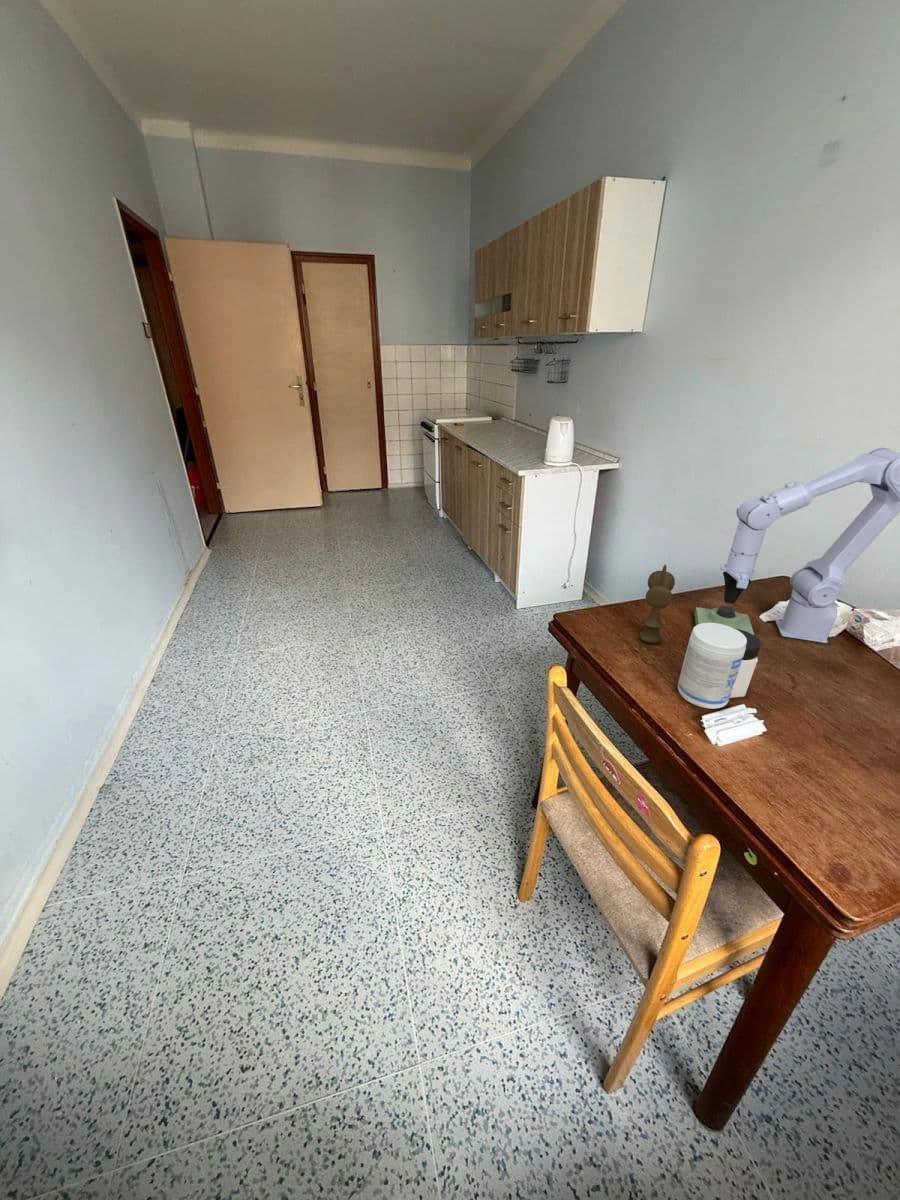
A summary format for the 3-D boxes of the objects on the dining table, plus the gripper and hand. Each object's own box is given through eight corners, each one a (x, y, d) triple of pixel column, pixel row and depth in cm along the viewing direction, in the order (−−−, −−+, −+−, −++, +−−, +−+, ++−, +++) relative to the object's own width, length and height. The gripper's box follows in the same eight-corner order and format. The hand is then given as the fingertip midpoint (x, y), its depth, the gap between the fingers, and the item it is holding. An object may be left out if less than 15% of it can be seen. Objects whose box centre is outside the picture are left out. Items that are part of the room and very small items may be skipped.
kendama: (663, 632, 118) (680, 558, 109) (661, 652, 110) (679, 575, 101) (638, 627, 120) (652, 554, 111) (634, 646, 113) (649, 570, 103)
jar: (754, 689, 98) (771, 640, 92) (734, 705, 94) (751, 655, 88) (711, 668, 104) (725, 622, 99) (691, 682, 100) (705, 635, 95)
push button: (732, 613, 119) (734, 606, 118) (734, 619, 116) (736, 613, 115) (716, 610, 120) (718, 604, 119) (718, 617, 117) (719, 611, 116)
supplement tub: (730, 715, 91) (752, 653, 84) (677, 704, 94) (694, 643, 87) (724, 685, 99) (744, 626, 92) (675, 676, 102) (690, 618, 95)
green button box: (745, 622, 122) (750, 608, 120) (751, 642, 113) (756, 627, 111) (694, 614, 126) (697, 601, 124) (696, 633, 117) (700, 619, 115)
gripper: (722, 538, 117) (708, 587, 123) (729, 560, 105) (713, 613, 111) (754, 541, 114) (739, 591, 121) (765, 564, 103) (747, 618, 109)
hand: (729, 602), depth 116 cm, fingers closed
